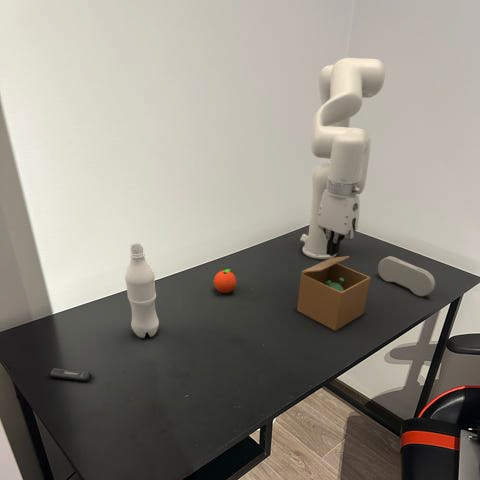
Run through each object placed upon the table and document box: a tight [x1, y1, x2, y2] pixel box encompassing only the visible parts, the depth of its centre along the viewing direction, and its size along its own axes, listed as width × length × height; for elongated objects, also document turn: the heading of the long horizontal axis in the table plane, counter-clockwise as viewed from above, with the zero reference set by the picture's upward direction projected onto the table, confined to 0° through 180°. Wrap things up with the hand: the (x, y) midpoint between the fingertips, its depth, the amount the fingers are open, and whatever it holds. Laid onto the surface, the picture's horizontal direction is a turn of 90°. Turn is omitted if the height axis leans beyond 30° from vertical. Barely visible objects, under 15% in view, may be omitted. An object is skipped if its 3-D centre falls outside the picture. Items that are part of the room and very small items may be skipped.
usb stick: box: [49, 367, 93, 382], centre depth 104 cm, size 10×3×2 cm, turn 81°
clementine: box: [213, 268, 237, 294], centre depth 138 cm, size 8×7×7 cm
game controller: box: [377, 255, 436, 297], centre depth 143 cm, size 20×2×8 cm, turn 39°
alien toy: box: [326, 278, 344, 292], centre depth 129 cm, size 7×8×10 cm
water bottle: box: [124, 243, 160, 339], centre depth 114 cm, size 7×7×25 cm
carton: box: [296, 263, 372, 332], centre depth 128 cm, size 14×13×12 cm
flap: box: [301, 255, 351, 274], centre depth 126 cm, size 7×13×1 cm, turn 133°
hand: (332, 253), depth 123 cm, fingers closed
